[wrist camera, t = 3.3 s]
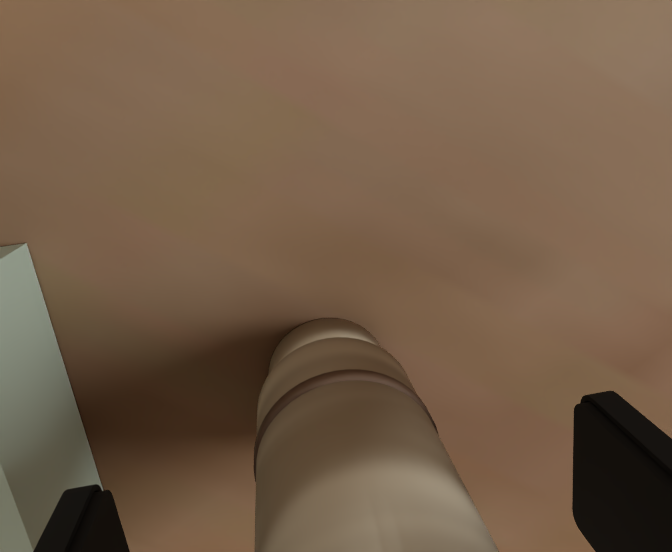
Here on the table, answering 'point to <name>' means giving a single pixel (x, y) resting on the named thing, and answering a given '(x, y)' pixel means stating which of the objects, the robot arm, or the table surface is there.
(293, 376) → the peg
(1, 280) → the board
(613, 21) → the table surface
